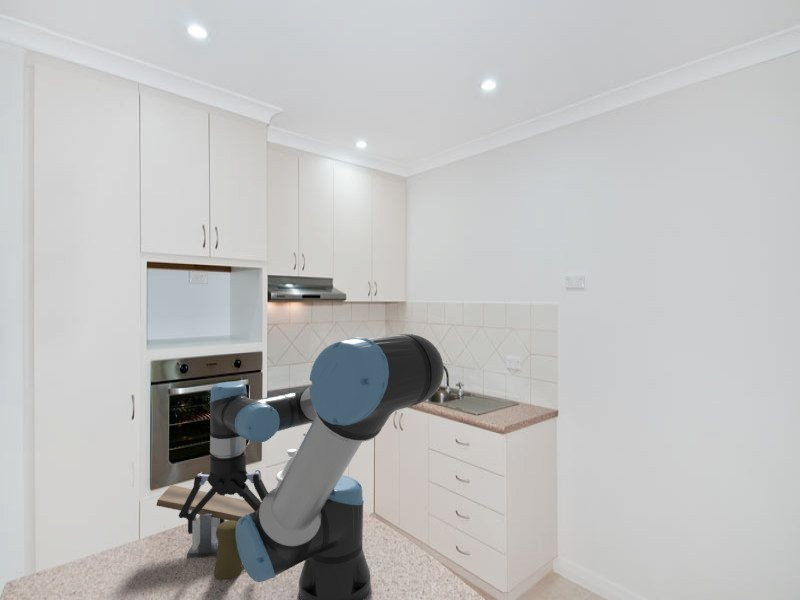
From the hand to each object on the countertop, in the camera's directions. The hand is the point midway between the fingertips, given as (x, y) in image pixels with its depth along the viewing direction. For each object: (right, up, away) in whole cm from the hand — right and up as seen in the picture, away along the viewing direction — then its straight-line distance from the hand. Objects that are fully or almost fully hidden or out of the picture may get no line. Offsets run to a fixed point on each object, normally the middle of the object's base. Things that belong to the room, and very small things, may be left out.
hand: (227, 545), depth 100 cm
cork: (0, -6, 0) cm, 6 cm away
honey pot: (+9, -6, +25) cm, 27 cm away
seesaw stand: (-8, -6, +11) cm, 15 cm away
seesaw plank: (-8, +3, +11) cm, 14 cm away
